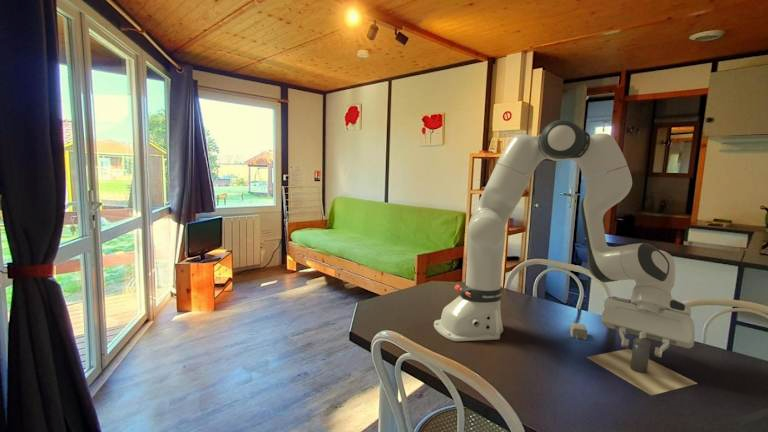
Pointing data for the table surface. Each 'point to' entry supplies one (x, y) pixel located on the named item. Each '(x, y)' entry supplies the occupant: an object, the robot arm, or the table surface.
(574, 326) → the usb wall charger
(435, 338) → the table surface
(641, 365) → the dark bottle
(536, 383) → the table surface
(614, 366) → the birch board
